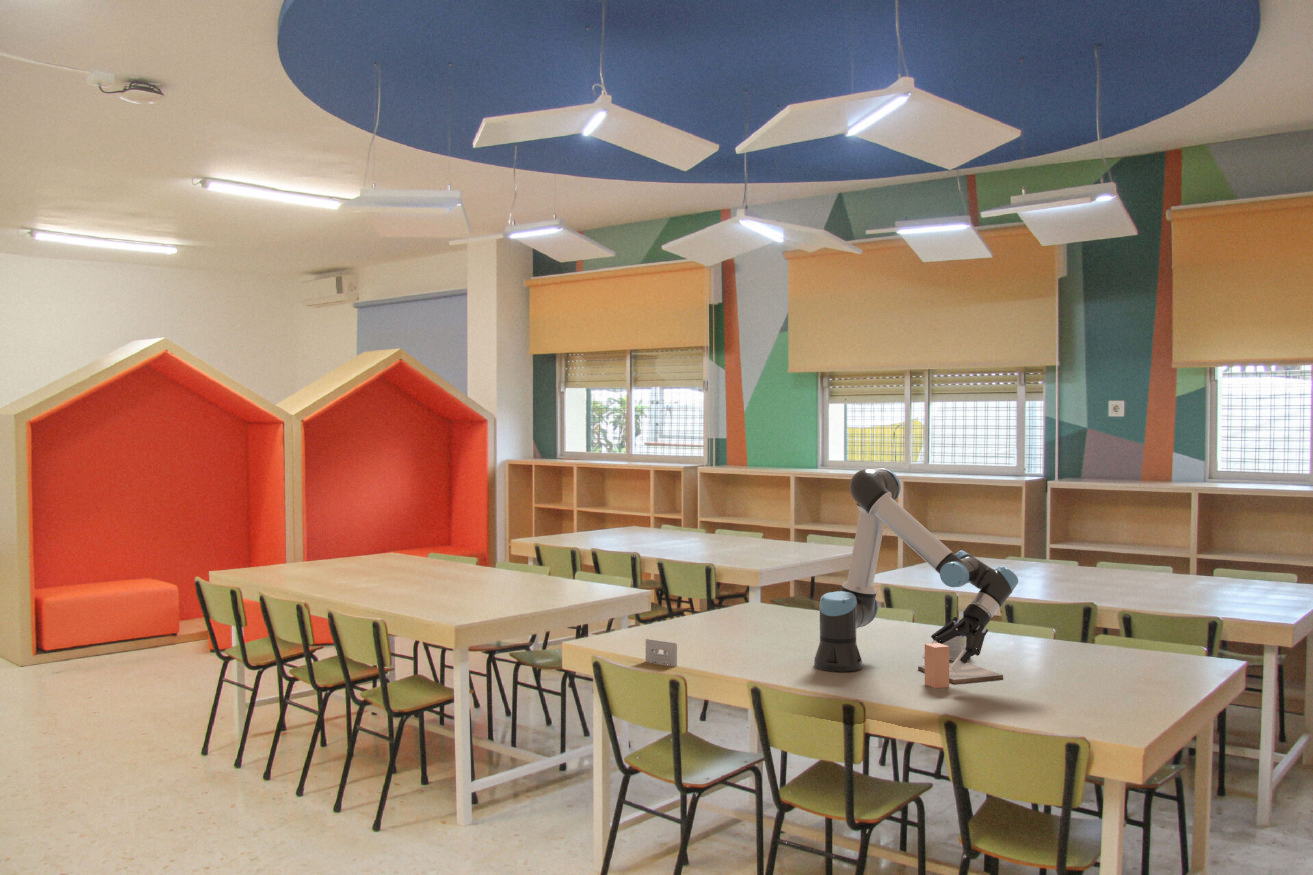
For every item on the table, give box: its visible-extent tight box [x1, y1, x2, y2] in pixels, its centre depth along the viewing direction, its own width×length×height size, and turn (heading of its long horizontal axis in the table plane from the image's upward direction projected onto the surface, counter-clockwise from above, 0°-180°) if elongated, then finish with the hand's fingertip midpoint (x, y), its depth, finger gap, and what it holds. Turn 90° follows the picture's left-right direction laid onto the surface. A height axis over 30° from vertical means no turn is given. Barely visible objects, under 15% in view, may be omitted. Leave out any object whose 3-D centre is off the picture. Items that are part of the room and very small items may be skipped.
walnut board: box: [917, 662, 1004, 685], centre depth 286 cm, size 18×18×1 cm
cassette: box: [645, 638, 678, 668], centre depth 299 cm, size 12×2×8 cm, turn 55°
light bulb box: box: [943, 636, 966, 662], centre depth 308 cm, size 11×7×11 cm, turn 145°
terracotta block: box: [924, 642, 950, 689], centre depth 272 cm, size 5×5×12 cm
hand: (939, 664), depth 272 cm, fingers open, 13 cm apart
